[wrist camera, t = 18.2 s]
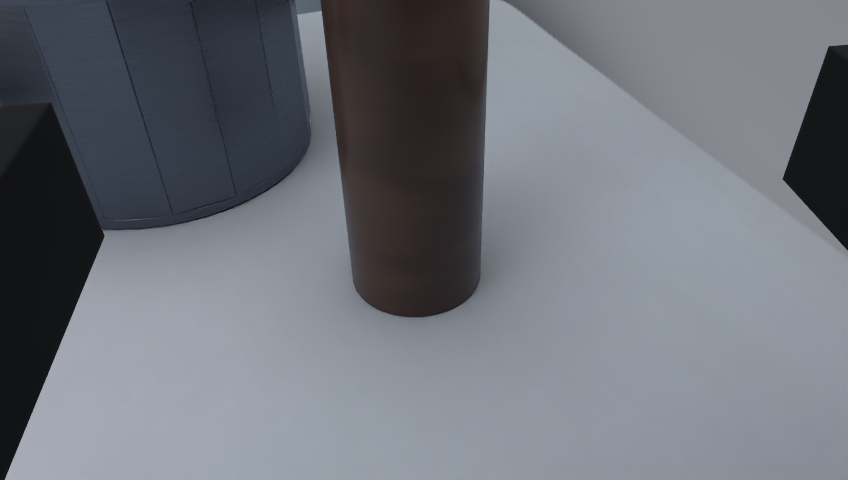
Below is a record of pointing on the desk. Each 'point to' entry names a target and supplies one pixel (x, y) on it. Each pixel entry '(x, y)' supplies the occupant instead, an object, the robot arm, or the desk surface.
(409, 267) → the pepper mill
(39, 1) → the pot lid
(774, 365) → the desk surface
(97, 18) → the pot
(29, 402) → the robot arm
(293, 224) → the desk surface
